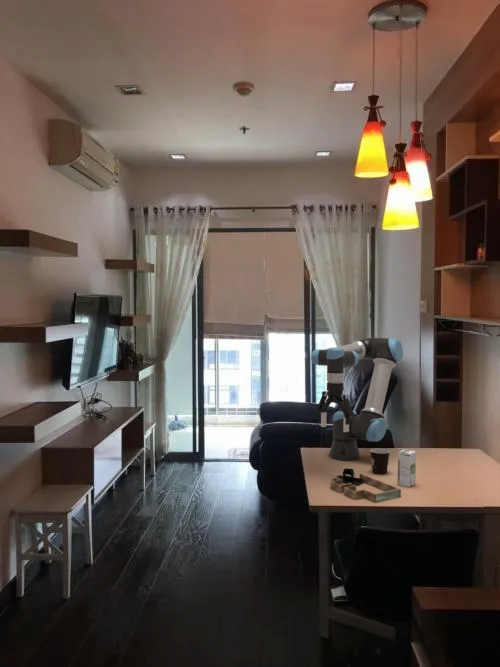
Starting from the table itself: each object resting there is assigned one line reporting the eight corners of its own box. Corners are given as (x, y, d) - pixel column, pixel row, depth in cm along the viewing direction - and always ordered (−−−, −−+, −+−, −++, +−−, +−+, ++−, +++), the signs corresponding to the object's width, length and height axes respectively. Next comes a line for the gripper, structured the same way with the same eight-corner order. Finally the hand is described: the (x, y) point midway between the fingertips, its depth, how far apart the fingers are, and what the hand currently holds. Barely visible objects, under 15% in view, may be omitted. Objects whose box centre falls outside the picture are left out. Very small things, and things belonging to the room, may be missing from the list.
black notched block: (332, 480, 236) (331, 469, 236) (339, 476, 242) (338, 465, 242) (359, 483, 229) (358, 473, 229) (365, 479, 235) (365, 468, 235)
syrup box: (402, 481, 235) (403, 448, 234) (415, 484, 231) (416, 450, 231) (397, 484, 230) (397, 451, 230) (410, 487, 227) (410, 453, 226)
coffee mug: (389, 475, 243) (389, 453, 243) (370, 474, 245) (370, 452, 245) (388, 468, 255) (388, 447, 254) (369, 467, 256) (369, 446, 256)
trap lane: (327, 486, 228) (327, 479, 228) (360, 480, 237) (361, 473, 237) (365, 504, 207) (365, 496, 207) (400, 496, 216) (400, 489, 216)
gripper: (309, 380, 249) (309, 425, 250) (350, 385, 230) (350, 435, 231) (321, 378, 254) (320, 423, 255) (362, 384, 234) (361, 432, 235)
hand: (334, 429), depth 243 cm, fingers open, 13 cm apart
